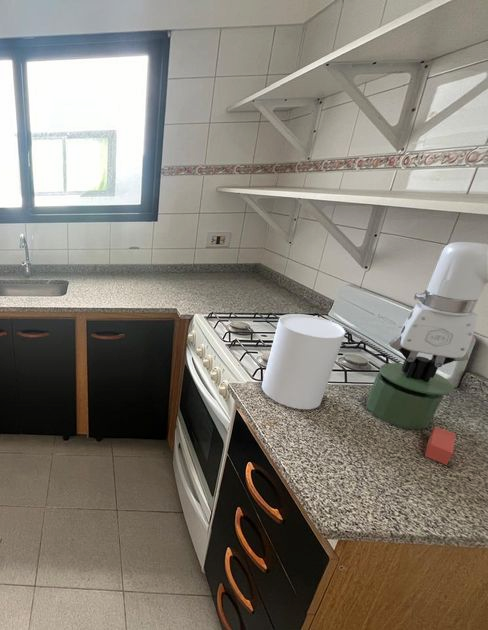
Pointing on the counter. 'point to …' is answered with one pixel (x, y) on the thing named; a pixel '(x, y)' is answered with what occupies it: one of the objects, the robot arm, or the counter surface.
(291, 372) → the canister
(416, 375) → the tin lid
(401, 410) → the tin
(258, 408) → the counter surface
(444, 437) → the red rectangular block
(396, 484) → the counter surface
